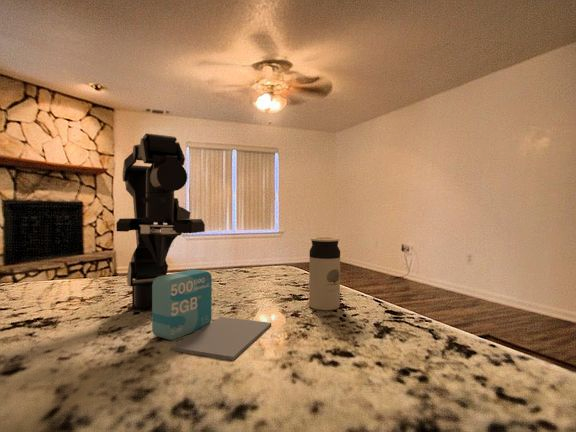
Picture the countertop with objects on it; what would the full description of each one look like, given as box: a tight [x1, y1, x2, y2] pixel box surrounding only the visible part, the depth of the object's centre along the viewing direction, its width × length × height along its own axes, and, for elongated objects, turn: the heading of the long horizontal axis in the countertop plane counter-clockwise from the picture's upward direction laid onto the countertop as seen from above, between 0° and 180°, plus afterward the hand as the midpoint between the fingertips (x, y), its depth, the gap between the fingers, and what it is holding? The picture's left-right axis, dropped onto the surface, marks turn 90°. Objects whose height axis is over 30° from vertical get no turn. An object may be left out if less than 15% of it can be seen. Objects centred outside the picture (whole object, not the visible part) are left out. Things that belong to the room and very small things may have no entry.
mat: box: [170, 316, 272, 361], centre depth 67 cm, size 12×18×1 cm
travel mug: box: [308, 236, 341, 312], centre depth 89 cm, size 8×8×18 cm
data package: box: [151, 269, 213, 341], centre depth 70 cm, size 12×4×12 cm, turn 149°
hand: (160, 265), depth 73 cm, fingers closed
